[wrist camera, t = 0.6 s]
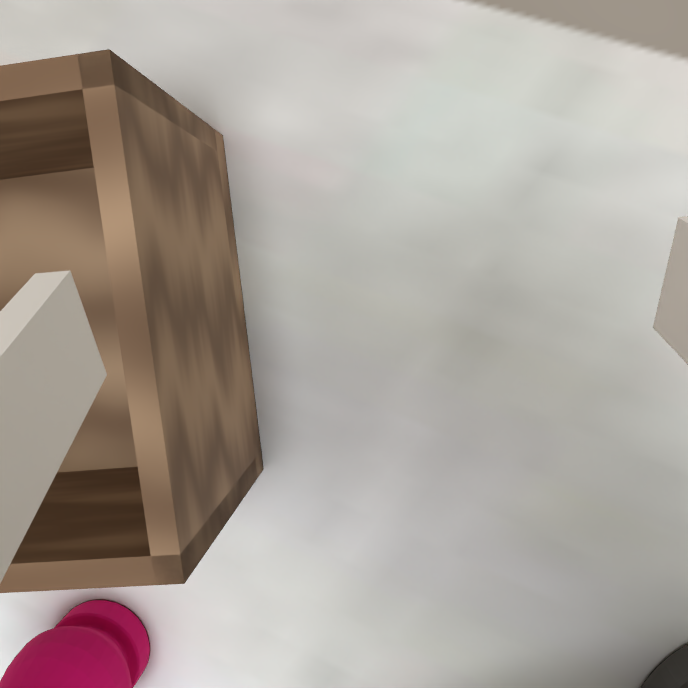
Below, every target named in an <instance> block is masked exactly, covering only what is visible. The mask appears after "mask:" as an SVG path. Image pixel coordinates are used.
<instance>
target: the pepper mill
mask: <svg viewBox="0 0 688 688" xmlns="http://www.w3.org/2000/svg"><path fill="white" fill-rule="evenodd" d="M149 653H150V646H149V640H148V636H147V633H146V630H145V628H144V626H143V625H142V623H141V622H140V620H139V619H138V617H136V616H135V615H134V614H133V613H132V612H131V611H130V610H129V609H127V608H125V607H123V606H121V605H120V604H118V603H115V602H110V601H106V600H93V601H88V602H85V603H82V604H80V605H78V606H76V607H75V608H73V609H72V610H71V611H70V612H69V613H68V614H67V615H66V616H65V617H64V618H63V619H62V620H61V621H60V622H59V623H58V624H57V625H56V626H55V627H54V629H50V630H47V631H45V632H43V633H41V634H39V635H38V636H36V637H35V638H33V639H32V640H31V641H29V642H28V643H27V644H26V645H25V646H24V648H23V649H22V650H21V651H20V652H19V653H18V655H17V656H16V657H15V658H14V660H13V661H12V662H11V664H10V665H9V666H8V668H7V670H6V672H5V673H4V675H3V677H2V679H1V681H0V688H133V687H134V685H135V684H136V682H137V681H138V679H139V678H140V676H141V675H142V673H143V671H144V670H145V668H146V666H147V663H148V660H149Z"/></svg>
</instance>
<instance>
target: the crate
mask: <svg viewBox="0 0 688 688" xmlns="http://www.w3.org/2000/svg"><path fill="white" fill-rule="evenodd" d="M69 270H70V271H71V274H72V277H73V279H74V282H75V285H76V288H77V291H78V294H79V297H80V299H81V302H82V305H83V308H84V311H85V314H86V316H87V319H88V322H89V325H90V328H91V331H92V333H93V336H94V339H95V342H96V345H97V348H98V350H99V353H100V356H101V359H102V362H103V365H104V367H105V370H106V373H107V376H106V378H105V380H104V382H103V383H102V385H101V387H100V389H99V391H98V393H97V395H96V397H95V399H94V401H93V403H92V405H91V407H90V409H89V411H88V413H87V415H86V417H85V419H84V421H83V423H82V425H81V427H80V429H79V430H78V432H77V434H76V436H75V438H74V440H73V442H72V444H71V446H70V448H69V450H68V452H67V454H66V456H65V458H64V460H63V462H62V464H61V466H60V468H59V470H58V472H57V474H56V475H55V477H54V479H53V481H52V483H51V485H50V487H49V489H48V491H47V493H46V495H45V497H44V499H43V501H42V503H41V505H40V507H39V509H38V511H37V513H36V515H35V517H34V519H33V520H32V522H31V524H30V526H29V528H28V530H27V532H26V534H25V536H24V538H23V540H22V542H21V544H20V546H19V548H18V550H17V552H16V554H15V556H14V558H13V560H12V562H11V564H10V566H9V567H8V569H7V571H6V573H5V575H4V577H3V579H2V581H1V583H0V593H9V592H29V591H49V590H68V589H88V588H108V587H127V586H147V585H167V584H184V583H185V582H186V581H187V579H188V578H189V576H190V575H191V573H192V572H193V570H194V569H195V568H196V566H197V565H198V563H199V562H200V560H201V559H202V557H203V556H204V555H205V553H206V552H207V550H208V549H209V547H210V546H211V544H212V543H213V542H214V540H215V539H216V537H217V536H218V534H219V533H220V531H221V530H222V529H223V527H224V526H225V524H226V523H227V521H228V520H229V518H230V517H231V515H232V514H233V513H234V511H235V510H236V508H237V507H238V505H239V504H240V502H241V501H242V500H243V498H244V497H245V495H246V494H247V492H248V491H249V489H250V488H251V487H252V485H253V484H254V482H255V481H256V479H257V478H258V476H259V475H260V474H261V472H262V471H263V461H262V453H261V445H260V437H259V429H258V420H257V412H256V404H255V396H254V388H253V380H252V371H251V363H250V355H249V347H248V339H247V330H246V322H245V314H244V306H243V298H242V289H241V281H240V273H239V265H238V257H237V249H236V240H235V232H234V224H233V216H232V208H231V199H230V191H229V183H228V175H227V167H226V158H225V150H224V142H223V135H221V134H220V133H219V132H217V131H216V130H215V129H213V128H212V127H211V126H209V125H208V124H207V123H206V122H204V121H203V120H202V119H200V118H199V117H198V116H196V115H195V114H194V113H192V112H191V111H190V110H188V109H187V108H186V107H184V106H183V105H182V104H181V103H179V102H178V101H177V100H175V99H174V98H173V97H171V96H170V95H169V94H167V93H166V92H165V91H163V90H162V89H161V88H159V87H158V86H157V85H156V84H154V83H153V82H152V81H150V80H149V79H148V78H146V77H145V76H144V75H142V74H141V73H140V72H138V71H137V70H136V69H134V68H133V67H132V66H131V65H129V64H128V63H127V62H125V61H124V60H123V59H121V58H120V57H119V56H117V55H116V54H115V53H113V52H112V51H111V50H102V51H95V52H89V53H82V54H75V55H69V56H62V57H56V58H49V59H42V60H36V61H29V62H22V63H16V64H9V65H3V66H0V311H1V310H2V309H3V308H4V307H5V306H6V305H7V303H8V302H9V301H10V300H11V299H12V298H13V297H14V296H15V295H16V294H17V293H18V291H19V290H20V289H21V288H22V287H23V286H24V285H25V284H26V283H27V282H28V281H29V279H30V278H31V277H32V276H33V275H34V274H35V273H46V272H58V271H69Z"/></svg>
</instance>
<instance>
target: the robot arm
mask: <svg viewBox="0 0 688 688" xmlns="http://www.w3.org/2000/svg"><path fill="white" fill-rule="evenodd" d="M653 328H654V329H655V330H656V331H657V332H658V333H659V335H660V336H661V337H662V338H663V339H664V340H665V341H666V342H667V343H668V344H669V345H670V346H671V347H672V348H673V349H674V350H675V351H676V353H677V354H678V355H679V356H680V357H681V358H682V359H683V360H684V361H685V362H686V363H687V364H688V216H687V217H678V222H677V226H676V230H675V235H674V239H673V243H672V247H671V252H670V256H669V260H668V265H667V269H666V273H665V277H664V282H663V286H662V290H661V295H660V299H659V303H658V307H657V312H656V316H655V320H654V325H653ZM106 376H107V373H106V370H105V367H104V365H103V362H102V359H101V356H100V353H99V350H98V348H97V345H96V342H95V339H94V336H93V333H92V331H91V328H90V325H89V322H88V319H87V316H86V314H85V311H84V308H83V305H82V302H81V299H80V297H79V294H78V291H77V288H76V285H75V282H74V279H73V277H72V274H71V271H70V270H69V271H58V272H46V273H35V274H34V275H33V276H32V277H31V278H30V279H29V281H28V282H27V283H26V284H25V285H24V286H23V287H22V288H21V289H20V290H19V291H18V293H17V294H16V295H15V296H14V297H13V298H12V299H11V300H10V301H9V302H8V303H7V305H6V306H5V307H4V308H3V309H2V310H1V311H0V583H1V581H2V579H3V577H4V575H5V573H6V571H7V569H8V567H9V566H10V564H11V562H12V560H13V558H14V556H15V554H16V552H17V550H18V548H19V546H20V544H21V542H22V540H23V538H24V536H25V534H26V532H27V530H28V528H29V526H30V524H31V522H32V520H33V519H34V517H35V515H36V513H37V511H38V509H39V507H40V505H41V503H42V501H43V499H44V497H45V495H46V493H47V491H48V489H49V487H50V485H51V483H52V481H53V479H54V477H55V475H56V474H57V472H58V470H59V468H60V466H61V464H62V462H63V460H64V458H65V456H66V454H67V452H68V450H69V448H70V446H71V444H72V442H73V440H74V438H75V436H76V434H77V432H78V430H79V429H80V427H81V425H82V423H83V421H84V419H85V417H86V415H87V413H88V411H89V409H90V407H91V405H92V403H93V401H94V399H95V397H96V395H97V393H98V391H99V389H100V387H101V385H102V383H103V382H104V380H105V378H106ZM641 688H688V644H687V645H686V646H684V647H682V648H681V649H679V650H677V651H676V652H675V653H673V654H672V655H670V656H669V657H668V658H667V659H666V660H664V661H663V662H662V663H661V664H660V665H659V666H658V667H657V668H656V669H655V670H654V671H653V672H652V673H651V675H650V676H649V677H648V678H647V680H646V681H645V682H644V684H643V686H642V687H641Z"/></svg>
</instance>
